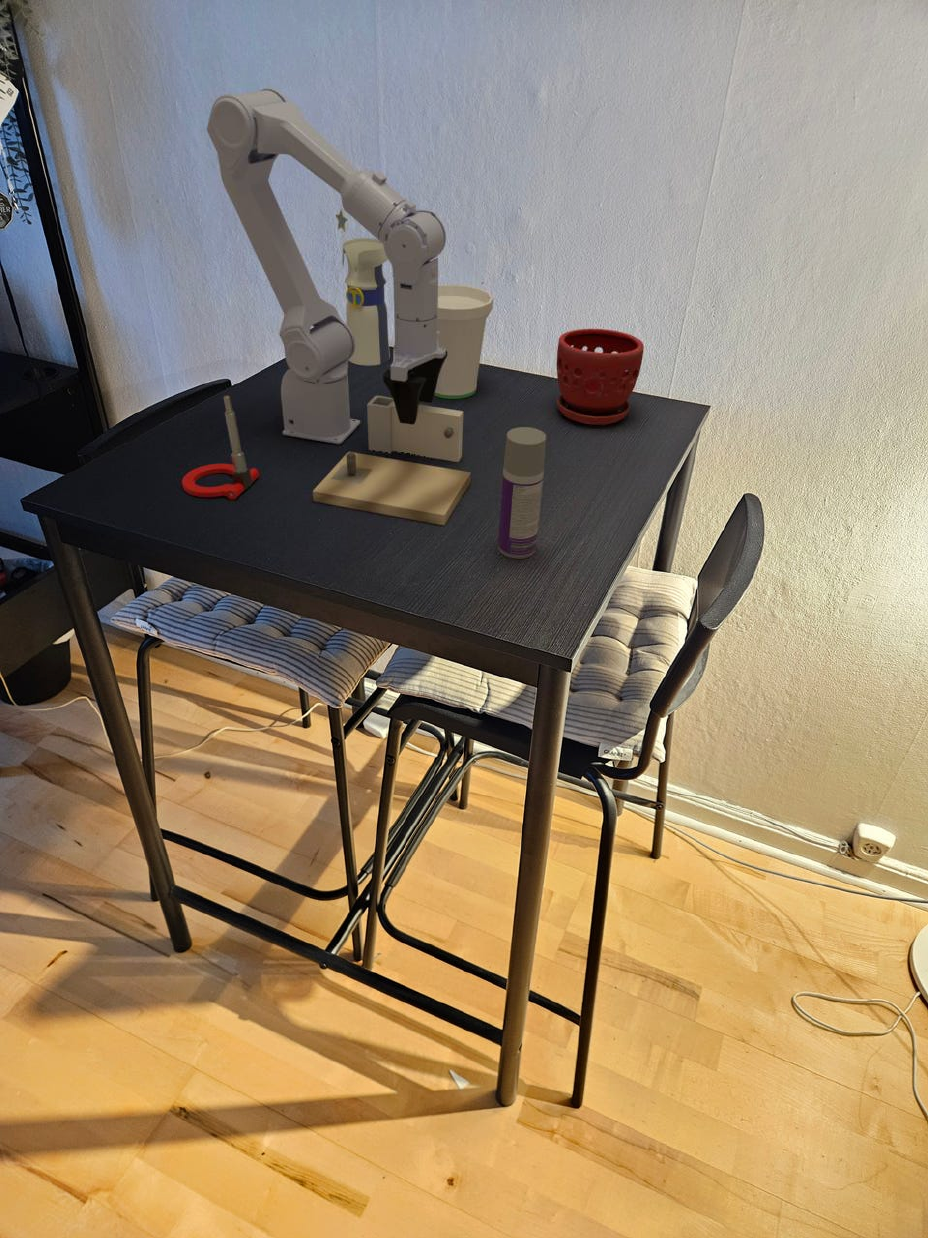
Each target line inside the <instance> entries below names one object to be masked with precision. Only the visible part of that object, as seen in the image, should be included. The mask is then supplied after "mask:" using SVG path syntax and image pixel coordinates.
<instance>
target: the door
mask: <svg viewBox="0 0 928 1238" xmlns="http://www.w3.org/2000/svg"><path fill="white" fill-rule="evenodd" d="M366 409H367V410H366V412H367V433H368V434H367V435H368V436H367V437H368V451H373V450H375V451H374V452H379V451H382V452H381V453H385V452H388V453H387V454H392V453H391V452H395V451H397V452H396V453H401V452H404V453H403V454H406V453H410V454H409V455H412V454H413V456H418V455H419V456H418V457H424V456H425V458H432V459H437V460H441V461H448V462H455V463H459V462H460V460H461V459H462V457H463V433H464V432H463V431H464V430H463V429H464V411H463V410H456V409H449V408H444V407H436V406H430V405H423V404H418V412H417V418H416V422H415V423H414V425H411V424H405V423H400V421H399V418H398V414H397V411H396V407H395V403H394V400H393V398H392V397H389V396H382V395H375V396H374V397H373V398H372V399H371V400H370V401H369V402H368V403H367V405H366ZM414 454H415V455H414Z"/></svg>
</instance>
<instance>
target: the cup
mask: <svg viewBox="0 0 928 1238" xmlns="http://www.w3.org/2000/svg"><path fill="white" fill-rule="evenodd" d="M493 306H494V297H493V295H492V294H491V292H489V291H487V290H485V289H483V288H479V287H476V286H472V285H464V284H438V330H437V331H439V332H440V333H439V348H443V349H446V351H447V357H446V359H445V361H444V363H443V365H442V368H441V370H440V373H439V377H438V381H437V385H436V390H435V394H434V397H437V398H440V399H447V400H448V399H449V400H459V399H465V398H469V397H471V396H473V395H474V394H475V393H476V391H477V386H478V384H477V382H478V377H479V375H478V374H479V369H480V362H481V354H482V350H483V341H484V336H485V329H486V322H487V318H488V317H489V315H490V314H491V312H492V310H493V308H494V307H493Z"/></svg>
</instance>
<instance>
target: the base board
mask: <svg viewBox="0 0 928 1238" xmlns="http://www.w3.org/2000/svg"><path fill="white" fill-rule="evenodd" d="M471 475H472V473H471V472H468V471H464V470H458V469H451V468H447V467H446V468H445V467H442V466H441V467H440V466H434V465H427V464H422V463H416V462H411V461H405V460H400V459H393V458H389V457H387V458H386V457H382V456H376V455H370V454H364V453H359V452H353V451H348V452H347V453H346V454H345V455H344V456H343V457H342V459H340V460H339V461H338V462H337V464H336V465H335V466H334V467H333V468H332V469H331V470H330V472H329V473H328V474H327V475H326V476H325V477H324V478H323V479H322V480H321V481H320V482H319V484H318V485H317V486H316V487H315V488H314V489H313V491H312V498H313V502H316V503H321V504H326V505H332V506H338V507H344V508H348V509H353V510H358V511H359V510H360V511H364V512H370V513H375V514H381V515H386V516H391V517H396V518H402V519H407V520H412V521H418V522H424V523H429V524H434V525H439V526H446V523H447V522H448V520H449V519H450V517H451V515H452V514H453V513H454V510H455V508H456V507H457V505H458V504H459V502H460V500H461V499H462V497H463V495H464V494H465V492H466V491H467V488H468V487H469V486H470V483H471V480H472V479H471Z"/></svg>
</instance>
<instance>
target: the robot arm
mask: <svg viewBox="0 0 928 1238" xmlns="http://www.w3.org/2000/svg"><path fill="white" fill-rule="evenodd" d="M206 132H207V134H208V136H209V138H210V141H211V142H212V145H213V147H214V149H215V151H216V153H217V159H218V164H219V171H220V177H221V180H222V183H223V186H224V189H225V191H226V193H227V195H228V197H229V199H230V201H231V203H232V205H233V208H234V210H235V212H236V215H237V216H238V218H239V221H240V223H241V225H242V227H243V229H244V231H245V233H246V236H247V237H248V239H249V242H250V244H251V246H252V248H253V250H254V253H255V254H256V257H257V259H258V261H259V264H260V265H261V267H262V270H263V272H264V274H265V276H266V277H267V280H268V282H269V285H270V286H271V289H272V291H273V293H274V295H275V297H276V300H277V301H278V303H279V306H280V308H281V310H282V312H283V314H284V315H283V319H282V322H281V327H280V329H279V337H280V340H281V341H282V344H283V348H284V358H285V361H286V364H287V366H288V368H289V369H287V370H286V372H285V373H284V374H283V376H282V380H281V386H280V396H281V407H282V417H283V428H284V430H283V431H282V435H283V436H287V437H288V436H289V437H294V438H295V437H296V438H300V439H306V440H310V441H311V440H312V441H319V442H325V443H329V444H335V445H341V444H343V443H344V441H346V439H348V437H349V436H350V435H351V434H352V433H353V432H354V431H355V430H356V429H357V427H359V425H361V421H360V419H355V418H351V414H350V411H351V410H350V409H351V408H350V395H349V391H350V390H349V379H348V378H349V376H348V368H349V360H348V359H350V358H351V357H352V355H353V353H354V351H355V338H354V335H353V333H352V331H351V329H350V328H349V326H348V325H347V322H345V321H344V320H343V319H342V317H341V315H339V312H338V310H337V307H335V306H334V305H332V304H330V303H329V302H328V301H326V300H324V299H323V298H322V297H320V296H321V295H319V292H318V289H317V288H316V286H315V283H314V281H313V279H312V276H311V274H310V272H309V270H308V267H307V266H306V263H305V260H304V259H303V255H301V252H300V250H299V247H298V245H297V242H296V241H295V238H294V236H293V234H292V232H291V229H290V227H289V225H288V222H287V221H286V218H285V216H284V214H283V212H282V211H283V210H282V209H281V207H280V204H279V203H278V201H277V200H278V199H276V196H275V194H274V192H273V189H272V187H271V184H270V182H269V179H270V175H271V172H272V169H273V166H274V163H275V161H276V160H277V159H278V157H279V155H289V156H290V157H292V158H293V159H294V160H296V161H297V162H298V163H300V164H301V165H302V166H304V167H305V168H306V169H308V170H309V171H310V172H312V173H313V174H314V175H315V176H317V178H319V179H320V180H322V181H323V182H325V184H327V185H328V186H329V187H331V188H332V190H335V192H337V193H338V194H340V197H341V203H342V209H343V210H344V211H345V212H346V213H347V214H348V215H349V216H351V217H352V218H353V220H355V221H356V222H358V223H359V224H360V225H361V226H362V227H363V228H364V229H365V230H367V231H368V232H369V233H370V234H371V235H373V237H374V238H375V239H378V240H379V241H381V242H382V243H383V246H384V251H385V254H386V256H387V258H388V261H389V262H390V264H391V267H392V278H393V311H394V313H393V314H394V315H393V317H394V318H393V319H394V320H393V321H394V322H393V324H394V346H393V355H392V356H393V358H392V359H393V360H392V363H391V365H390V369H387V370H386V371H384V372H383V374H382V381H383V383H384V385H385V386H386V388H387V389H388V391H389V393H390V395H391V398H393V400H394V403H395V407H396V411H397V414H398V418H399V421H400V423H405V424H411V425H414V423H415V422H416V418H417V412H418V404H419V402H421V403H428V404H432V403H433V400H434V397H435V396H434V394H435V390H436V385H437V381H438V377H439V373H440V370H441V368H442V365H443V363H444V361H445V359H446V357H447V351H446V349H443V348H439V333H440V332H439V331H437V330H438V285H439V258H438V256H439V255H440V254H441V253H442V252H443V250H444V248H445V246H446V242H447V234H446V229H445V226H444V225H443V222H442V221H441V220H440V219H439V217H437V215H436V213H435V212H434V211H432V210H430V209H425V208H423V209H422V208H421V209H417V208H416V207H417V204H416V203H414V202H413V201H412V200H406V199H405V198H404V197H403V196H402V195H400V193H398V192H397V191H396V190H395V189H394V188H393V187H391V185H390V184H388V183H387V182H386V181H387V180H388V177H387V176H386V175H385V174H384V173H383V172H381V171H376V172H374V170H371V169H363V170H357V169H356V168H355V167H354V166H353V165H352V164H351V162H350V161H348V160H347V159H346V158H345V157H344V156H343V155H342V154H341V153H340V152H339V151H338V150H337V149H336V148H335V147H334V146H333V145H332V144H331V143H330V142H329V141H328V140H327V139H326V138H324V137H323V135H321V133H320V132H318V131H317V129H315V127H313V126H312V124H310V123H309V122H308V121H307V120H306V119H305V117H304V115H303V114H302V112H301V110H300V107H299V106H298V105H296V104H295V103H293V101H291V100H288V99H287V98H286V96H285V95H284V94H283V93H281V92H280V91H279V90H277V89H275V88H271V87H267V88H262V89H261V90H257V91H250V92H245V93H238V94H223V95H220V96H218V97H217V99H215V101H214V103H213V104H212V107H211V110H210V114H209V118H208V123H207V125H206ZM311 327H312V328H311ZM419 405H420V404H419Z"/></svg>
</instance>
